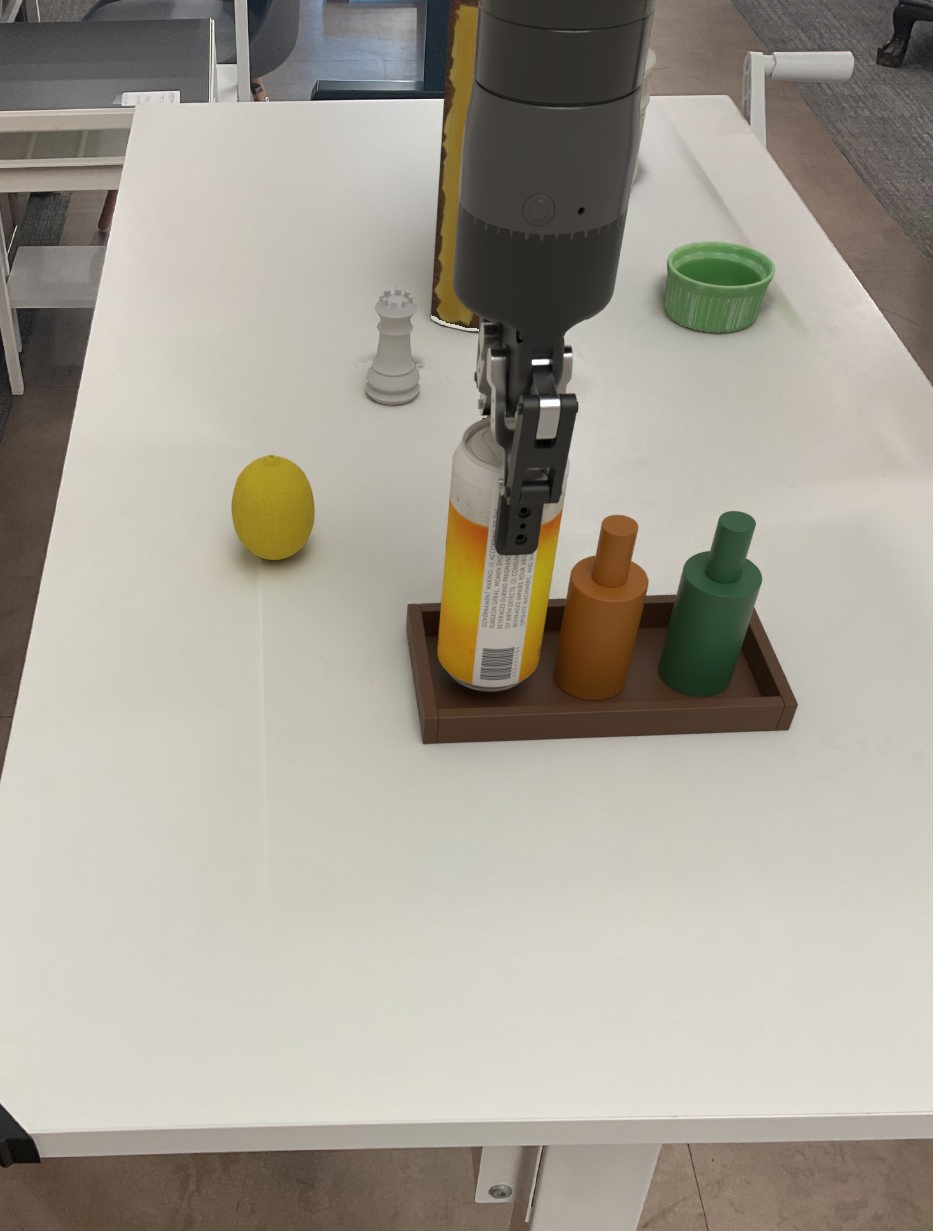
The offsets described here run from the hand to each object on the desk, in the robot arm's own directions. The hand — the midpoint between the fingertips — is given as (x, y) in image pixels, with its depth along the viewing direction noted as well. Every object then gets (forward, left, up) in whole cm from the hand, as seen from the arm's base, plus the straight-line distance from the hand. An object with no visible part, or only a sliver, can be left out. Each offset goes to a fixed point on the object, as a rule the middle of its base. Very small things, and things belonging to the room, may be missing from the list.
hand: (505, 513), depth 68 cm
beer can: (0, 0, -11) cm, 11 cm away
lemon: (+13, -14, -13) cm, 23 cm away
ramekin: (-26, -48, -13) cm, 56 cm away
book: (-9, -56, -13) cm, 58 cm away
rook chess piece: (+3, -36, -13) cm, 38 cm away
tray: (-6, 0, -13) cm, 14 cm away
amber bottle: (-6, 0, -12) cm, 14 cm away
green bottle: (-13, 0, -12) cm, 18 cm away
